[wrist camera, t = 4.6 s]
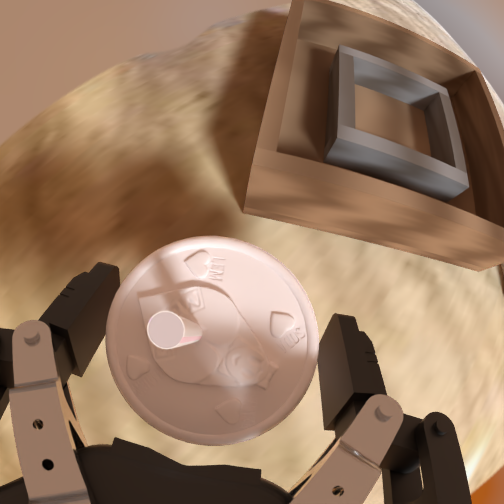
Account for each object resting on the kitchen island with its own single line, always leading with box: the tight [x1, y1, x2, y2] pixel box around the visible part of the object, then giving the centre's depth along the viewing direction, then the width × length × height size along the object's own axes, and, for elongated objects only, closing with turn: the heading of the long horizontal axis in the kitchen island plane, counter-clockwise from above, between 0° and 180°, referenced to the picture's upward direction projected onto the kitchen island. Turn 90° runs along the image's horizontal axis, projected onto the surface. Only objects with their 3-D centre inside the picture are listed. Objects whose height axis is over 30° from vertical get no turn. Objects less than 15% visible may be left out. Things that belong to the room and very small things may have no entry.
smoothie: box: [106, 236, 319, 446], centre depth 11 cm, size 6×6×14 cm
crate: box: [243, 0, 504, 272], centre depth 20 cm, size 20×20×6 cm
